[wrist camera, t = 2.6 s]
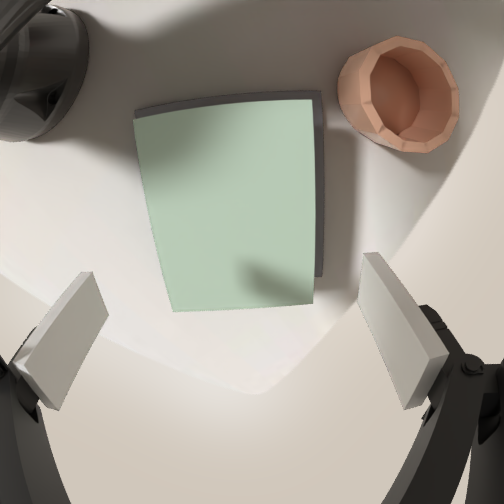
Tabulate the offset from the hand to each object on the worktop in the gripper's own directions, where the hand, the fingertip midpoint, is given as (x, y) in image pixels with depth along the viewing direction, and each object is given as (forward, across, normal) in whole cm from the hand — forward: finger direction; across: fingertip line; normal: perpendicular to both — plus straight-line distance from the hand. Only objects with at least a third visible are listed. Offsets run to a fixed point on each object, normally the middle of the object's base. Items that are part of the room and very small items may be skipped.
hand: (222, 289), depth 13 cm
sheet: (+10, 0, 0) cm, 10 cm away
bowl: (+14, +14, +9) cm, 22 cm away
